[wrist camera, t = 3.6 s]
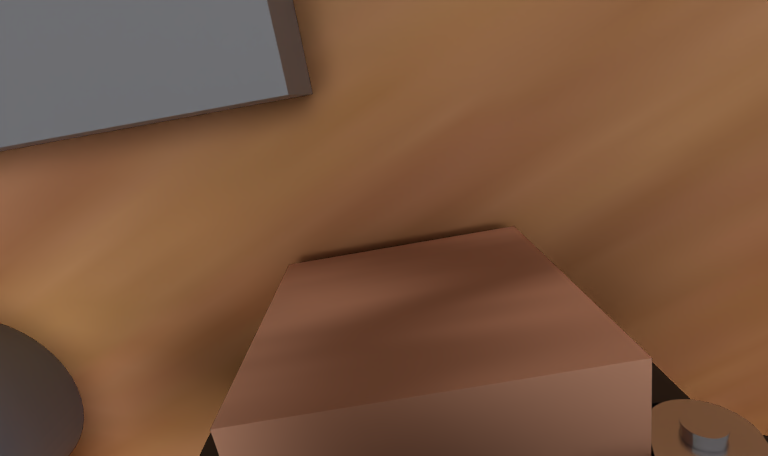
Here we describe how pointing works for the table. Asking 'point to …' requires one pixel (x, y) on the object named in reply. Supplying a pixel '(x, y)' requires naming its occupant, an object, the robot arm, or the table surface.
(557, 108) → the table surface
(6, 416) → the slate-blue cylinder
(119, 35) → the charcoal base
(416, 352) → the terracotta block
